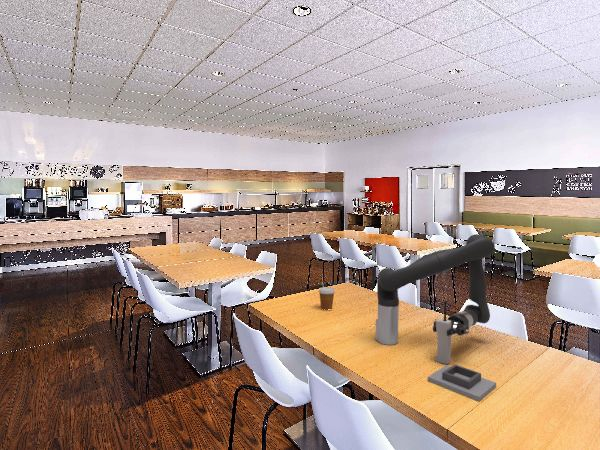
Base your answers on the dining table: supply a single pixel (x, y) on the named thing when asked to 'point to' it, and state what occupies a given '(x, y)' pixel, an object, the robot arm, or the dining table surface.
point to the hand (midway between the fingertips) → (440, 331)
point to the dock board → (462, 381)
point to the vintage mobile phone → (443, 339)
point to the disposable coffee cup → (326, 297)
